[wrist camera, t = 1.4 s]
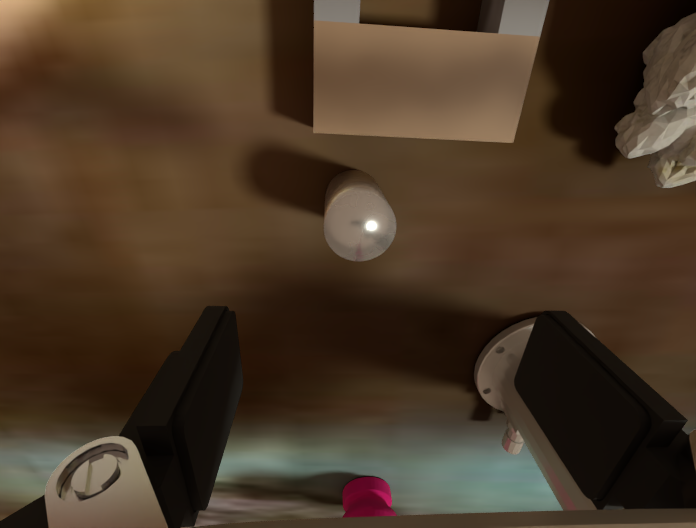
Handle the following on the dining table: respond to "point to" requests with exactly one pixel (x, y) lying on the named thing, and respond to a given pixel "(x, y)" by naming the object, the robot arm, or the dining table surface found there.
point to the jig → (424, 73)
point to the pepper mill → (367, 498)
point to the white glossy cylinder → (357, 217)
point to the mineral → (666, 108)
